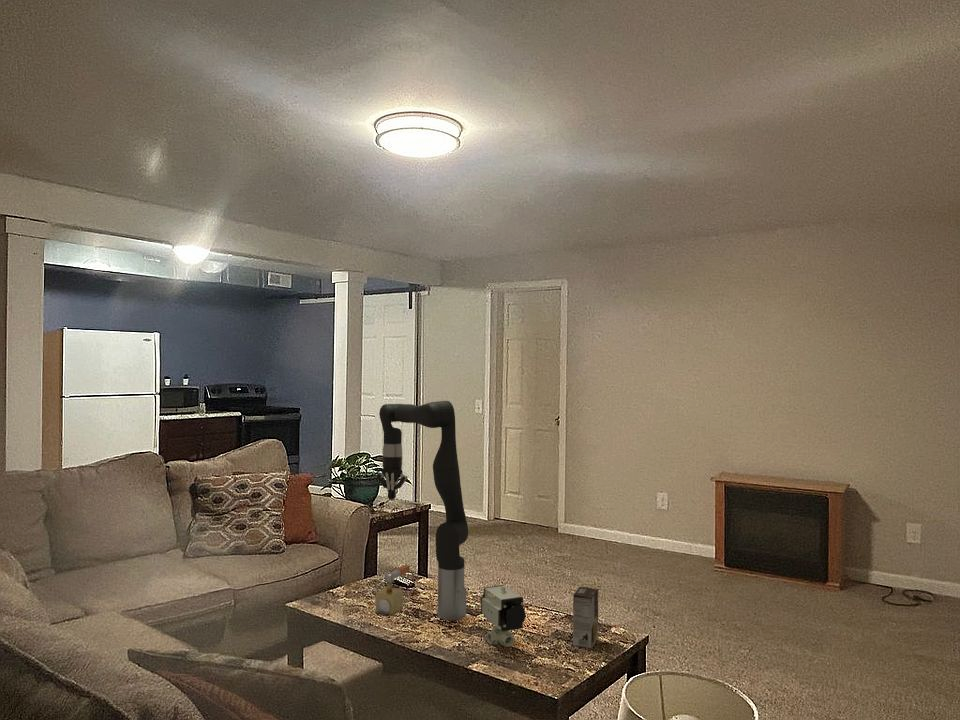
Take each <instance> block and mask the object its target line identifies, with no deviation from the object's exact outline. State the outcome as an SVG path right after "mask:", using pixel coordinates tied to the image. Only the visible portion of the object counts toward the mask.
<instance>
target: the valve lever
mask: <svg viewBox="0 0 960 720" xmlns="http://www.w3.org/2000/svg"><path fill="white" fill-rule="evenodd" d="M410 568H411V567H410V564H409V565H408V564H403V565H401V566H399V567H398V568H396V570H394V571H392V572H385V573H384V582H385V583H387V582H388V583H391V582H392V583H394V582H395V579H396V578H399V577H402V576H404V575H406V574H407V573H409V572H410Z"/></svg>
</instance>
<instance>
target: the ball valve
mask: <svg viewBox="0 0 960 720" xmlns="http://www.w3.org/2000/svg"><path fill="white" fill-rule="evenodd" d="M480 613H481V614H483V618H485V619H486V620H487V621H489V623H491V624H492V625H493V626H492V628H491V630H488V631H487V634H486V639H487V642H488V644H490V645H493V646H496V645H497V646H498V645H502V646H503V647H505V648H509V647H512V646H513V645H514V642H515V637H514V634H513V633H512V632H511V631H513V630H519V629H523V628H524V623H525V620H526V610H525V608H524V597H523V596H521V595H520V594H518V593H517V592H515V591H513V590H512V589H510V588H509V587H507V586H506V585H504V584H501V585H494V586H493V585H492V586H487V587H483V594H482V596H481V597H480Z"/></svg>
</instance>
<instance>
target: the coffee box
mask: <svg viewBox="0 0 960 720" xmlns="http://www.w3.org/2000/svg"><path fill="white" fill-rule="evenodd" d="M572 596H573V598H572V599H573V600H572V601H573V605H572V607H573V609H572V610H573V611H572V613H573V615H572V645H573V646H577V647H582V648H588V649H592V648H593V647H594V645H595V643H596V642H597V640H598V639H599V589H598V588H592V587H587V586H586V587H585V586H579V587H578V589H577V590H576V591H575V592H574V593H573V595H572Z"/></svg>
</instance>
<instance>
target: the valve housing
mask: <svg viewBox="0 0 960 720" xmlns="http://www.w3.org/2000/svg"><path fill="white" fill-rule="evenodd" d="M403 602H404V590H403V589H401V588H395V587H393V582H391V583H388V582H386V586H385V587H382V589H380V590H378V591H376V592H375V606H374V607H375V609H374V610H375V613H378V614H380V615H383V616H384V615H388V616H394V615H395V614H397V613H399V612H401V610H403V608H404V607H403V606H404V605H403V604H404V603H403Z"/></svg>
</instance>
